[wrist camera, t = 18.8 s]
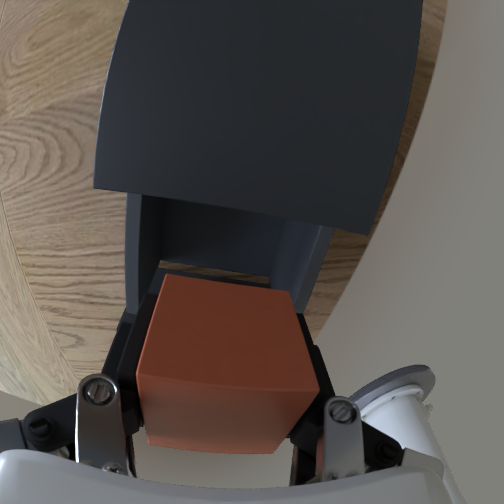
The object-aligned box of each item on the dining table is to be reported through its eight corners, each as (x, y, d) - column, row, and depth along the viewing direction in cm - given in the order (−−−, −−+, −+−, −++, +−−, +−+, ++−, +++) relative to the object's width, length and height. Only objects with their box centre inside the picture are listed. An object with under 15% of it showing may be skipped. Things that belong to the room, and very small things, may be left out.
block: (289, 290, 10) (321, 390, 6) (260, 368, 12) (273, 454, 8) (165, 272, 10) (134, 374, 6) (162, 356, 12) (148, 444, 8)
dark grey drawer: (262, 336, 26) (273, 402, 19) (144, 320, 24) (125, 385, 17) (321, 140, 18) (373, 156, 11) (162, 108, 16) (121, 104, 10)
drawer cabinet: (313, 185, 21) (369, 236, 12) (149, 156, 19) (92, 189, 10) (353, 20, 15) (424, -18, 6) (192, -17, 12) (172, -86, 4)
